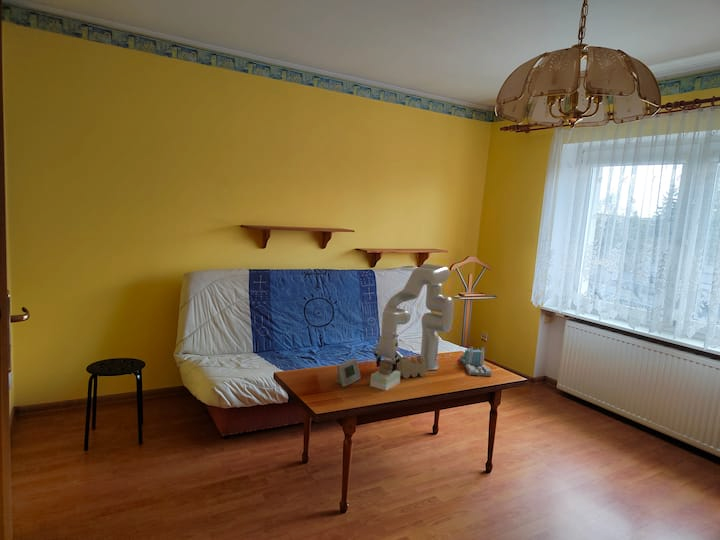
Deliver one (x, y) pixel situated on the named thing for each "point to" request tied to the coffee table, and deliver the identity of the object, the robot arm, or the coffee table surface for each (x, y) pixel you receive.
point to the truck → (475, 362)
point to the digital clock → (348, 372)
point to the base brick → (385, 380)
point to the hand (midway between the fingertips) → (386, 368)
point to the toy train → (412, 367)
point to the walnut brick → (386, 367)
